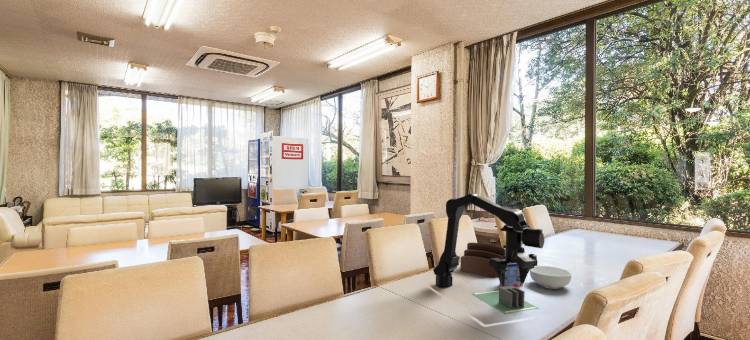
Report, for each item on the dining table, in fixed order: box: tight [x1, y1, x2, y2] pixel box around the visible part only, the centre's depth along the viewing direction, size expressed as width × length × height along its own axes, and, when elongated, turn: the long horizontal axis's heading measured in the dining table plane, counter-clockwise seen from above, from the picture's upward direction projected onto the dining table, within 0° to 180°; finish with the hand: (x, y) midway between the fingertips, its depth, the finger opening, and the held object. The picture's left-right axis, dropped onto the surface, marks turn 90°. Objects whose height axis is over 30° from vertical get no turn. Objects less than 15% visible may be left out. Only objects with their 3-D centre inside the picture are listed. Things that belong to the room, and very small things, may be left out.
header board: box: [471, 289, 540, 314], centre depth 138 cm, size 16×20×3 cm
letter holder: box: [459, 242, 505, 278], centre depth 177 cm, size 10×20×14 cm, turn 55°
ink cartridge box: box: [499, 259, 524, 288], centre depth 156 cm, size 10×6×14 cm, turn 118°
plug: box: [498, 286, 525, 309], centre depth 134 cm, size 6×6×6 cm
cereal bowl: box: [529, 265, 572, 290], centre depth 158 cm, size 17×17×7 cm
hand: (512, 284), depth 133 cm, fingers open, 9 cm apart
